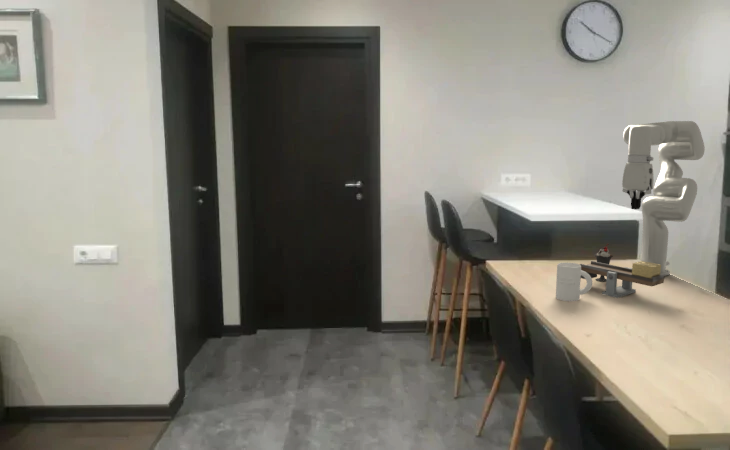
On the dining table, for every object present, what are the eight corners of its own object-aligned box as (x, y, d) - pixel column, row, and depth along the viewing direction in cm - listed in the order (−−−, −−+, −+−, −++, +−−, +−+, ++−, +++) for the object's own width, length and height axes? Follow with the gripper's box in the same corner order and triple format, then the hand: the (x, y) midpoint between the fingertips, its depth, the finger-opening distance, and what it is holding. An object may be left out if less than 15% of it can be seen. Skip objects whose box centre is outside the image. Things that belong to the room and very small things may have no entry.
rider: (640, 274, 220) (641, 260, 219) (659, 278, 215) (661, 264, 214) (631, 277, 216) (632, 263, 216) (650, 281, 211) (652, 267, 210)
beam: (590, 274, 237) (591, 259, 236) (662, 291, 216) (664, 274, 215) (578, 278, 233) (579, 262, 232) (651, 295, 211) (652, 278, 210)
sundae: (608, 283, 238) (610, 245, 236) (590, 280, 242) (593, 243, 240) (613, 279, 243) (615, 242, 241) (596, 277, 247) (598, 240, 245)
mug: (592, 303, 212) (593, 269, 210) (555, 300, 216) (557, 266, 214) (590, 296, 220) (592, 263, 218) (555, 294, 223) (557, 261, 222)
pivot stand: (620, 288, 231) (621, 266, 229) (635, 291, 226) (637, 269, 225) (601, 294, 223) (603, 271, 222) (617, 297, 218) (618, 274, 217)
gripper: (663, 160, 225) (660, 210, 228) (625, 158, 237) (622, 206, 240) (653, 161, 221) (649, 212, 224) (614, 159, 233) (611, 207, 236)
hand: (635, 208), depth 232 cm, fingers closed
